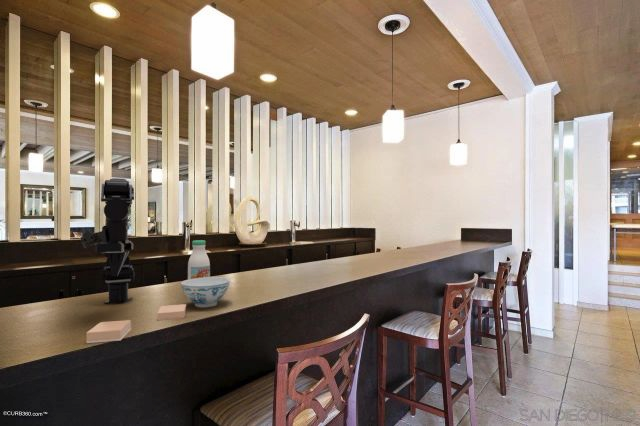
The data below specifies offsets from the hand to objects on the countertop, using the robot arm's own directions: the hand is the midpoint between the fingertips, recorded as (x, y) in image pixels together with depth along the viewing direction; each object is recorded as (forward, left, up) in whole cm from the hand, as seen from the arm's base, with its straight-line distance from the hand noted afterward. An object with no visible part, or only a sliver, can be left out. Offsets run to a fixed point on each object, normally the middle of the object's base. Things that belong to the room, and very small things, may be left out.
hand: (115, 275), depth 99 cm
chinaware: (-10, +24, -12) cm, 28 cm away
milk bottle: (-25, +18, -12) cm, 33 cm away
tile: (+14, +7, -10) cm, 18 cm away
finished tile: (+1, +17, -12) cm, 21 cm away
